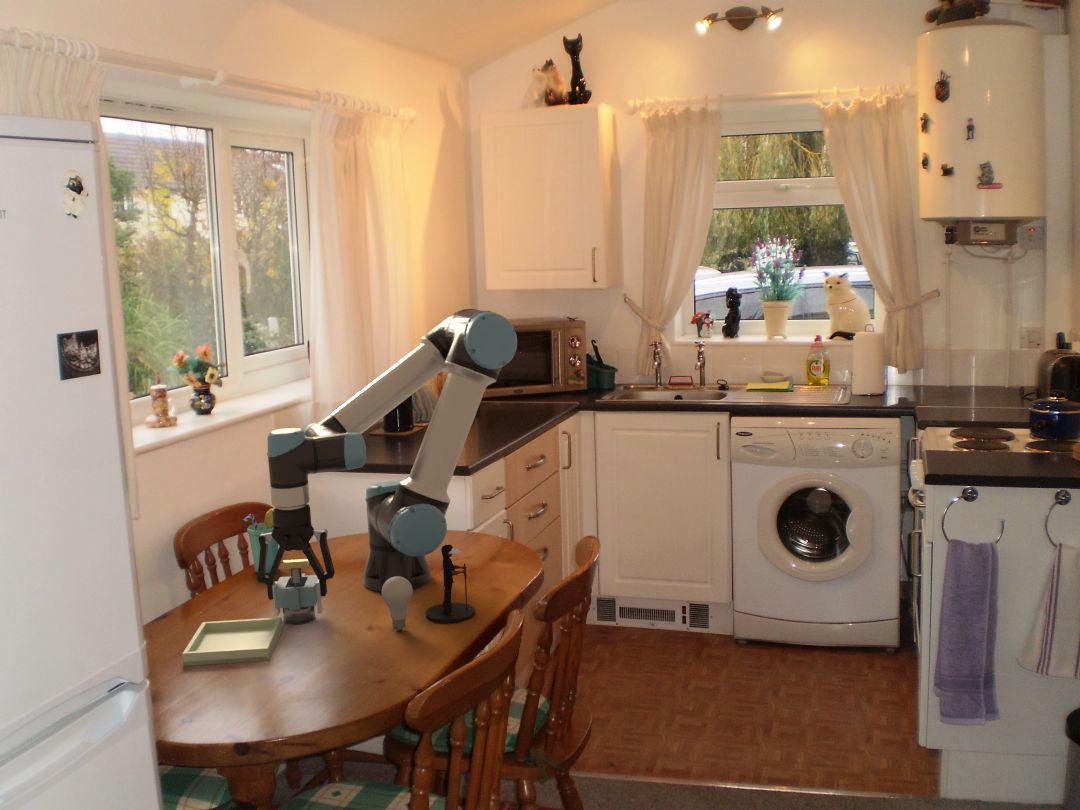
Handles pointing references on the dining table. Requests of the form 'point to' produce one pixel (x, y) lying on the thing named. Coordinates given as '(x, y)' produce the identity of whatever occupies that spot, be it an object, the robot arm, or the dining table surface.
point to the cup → (254, 534)
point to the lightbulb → (397, 599)
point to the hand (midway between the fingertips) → (299, 612)
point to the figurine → (448, 610)
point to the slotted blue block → (295, 593)
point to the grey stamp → (295, 566)
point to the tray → (233, 641)
